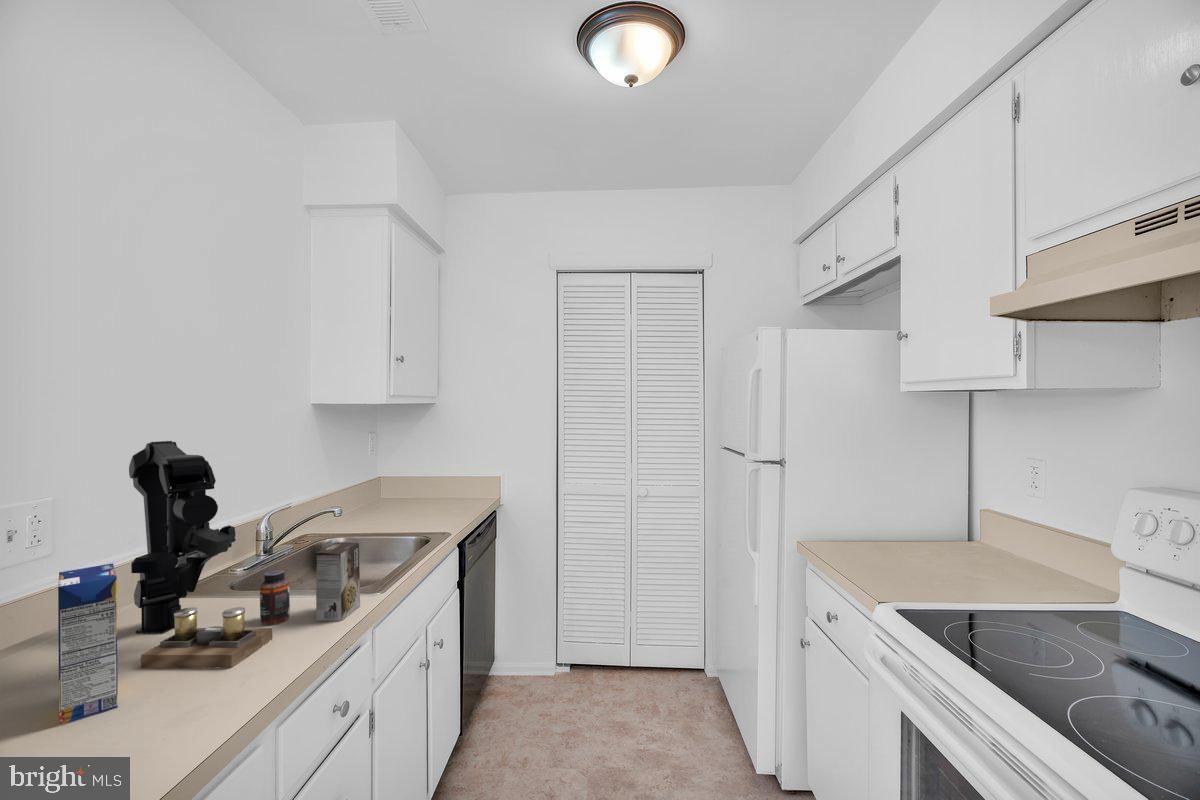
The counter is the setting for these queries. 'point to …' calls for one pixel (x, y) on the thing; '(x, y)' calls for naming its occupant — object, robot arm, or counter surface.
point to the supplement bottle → (274, 598)
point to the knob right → (233, 624)
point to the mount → (205, 651)
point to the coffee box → (337, 581)
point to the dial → (208, 634)
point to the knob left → (185, 624)
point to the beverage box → (87, 642)
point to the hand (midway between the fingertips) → (185, 594)
